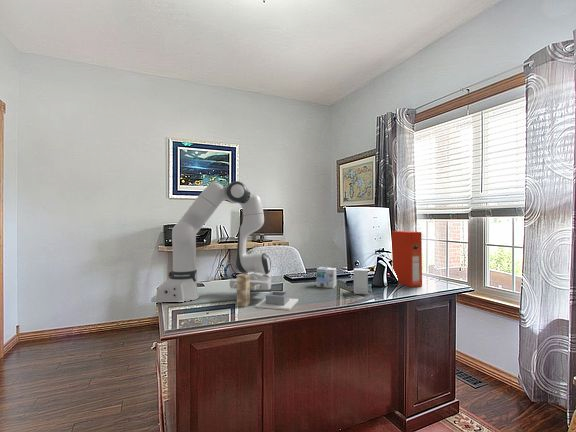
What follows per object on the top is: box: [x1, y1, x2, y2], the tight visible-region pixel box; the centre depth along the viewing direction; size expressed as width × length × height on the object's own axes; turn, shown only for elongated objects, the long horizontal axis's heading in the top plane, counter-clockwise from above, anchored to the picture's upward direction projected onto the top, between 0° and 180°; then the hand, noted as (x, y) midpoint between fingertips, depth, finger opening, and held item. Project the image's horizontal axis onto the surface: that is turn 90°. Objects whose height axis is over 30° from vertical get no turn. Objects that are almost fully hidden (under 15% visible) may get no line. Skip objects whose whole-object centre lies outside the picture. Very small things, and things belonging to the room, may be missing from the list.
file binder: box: [391, 230, 423, 288], centre depth 187 cm, size 8×17×32 cm, turn 17°
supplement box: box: [353, 267, 369, 295], centre depth 166 cm, size 7×7×13 cm
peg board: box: [255, 290, 299, 311], centre depth 144 cm, size 16×16×5 cm
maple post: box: [236, 273, 251, 308], centre depth 142 cm, size 4×4×14 cm
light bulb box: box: [315, 266, 337, 289], centre depth 181 cm, size 11×7×11 cm, turn 68°
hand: (244, 287), depth 143 cm, fingers open, 8 cm apart
